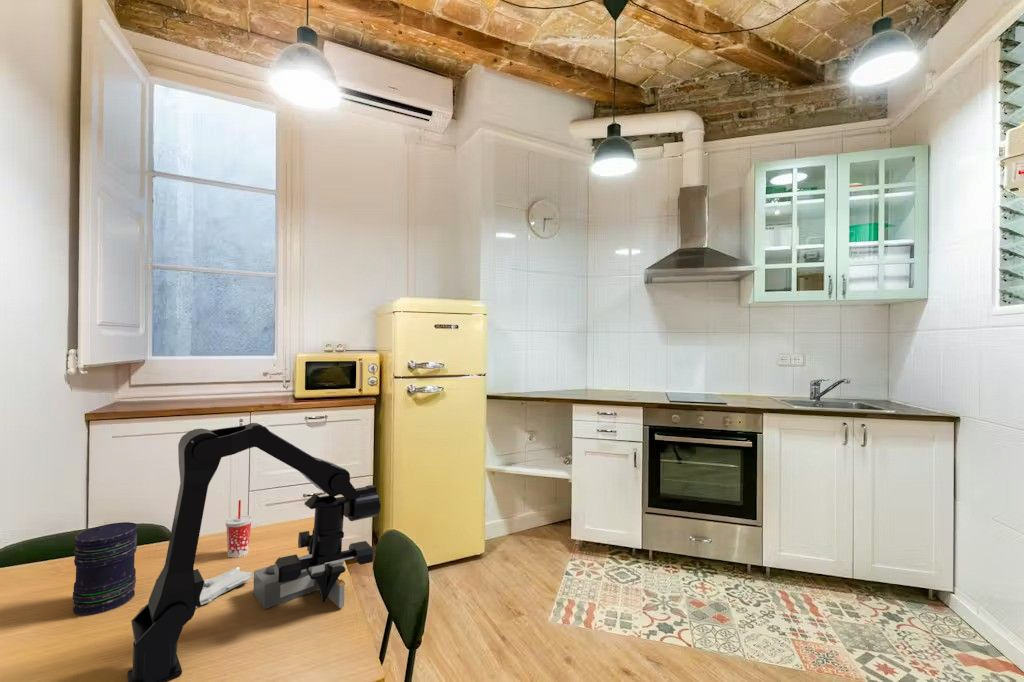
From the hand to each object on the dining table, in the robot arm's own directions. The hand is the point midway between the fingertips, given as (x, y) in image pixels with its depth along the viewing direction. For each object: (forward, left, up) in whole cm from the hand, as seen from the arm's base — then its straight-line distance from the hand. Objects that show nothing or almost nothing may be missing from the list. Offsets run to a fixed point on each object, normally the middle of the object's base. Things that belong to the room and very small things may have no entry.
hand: (323, 602), depth 92 cm
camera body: (+12, +3, -1) cm, 13 cm away
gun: (+23, +17, -2) cm, 29 cm away
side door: (+3, -3, -1) cm, 4 cm away
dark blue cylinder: (+34, +32, -2) cm, 47 cm away
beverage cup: (+40, +6, -2) cm, 41 cm away
